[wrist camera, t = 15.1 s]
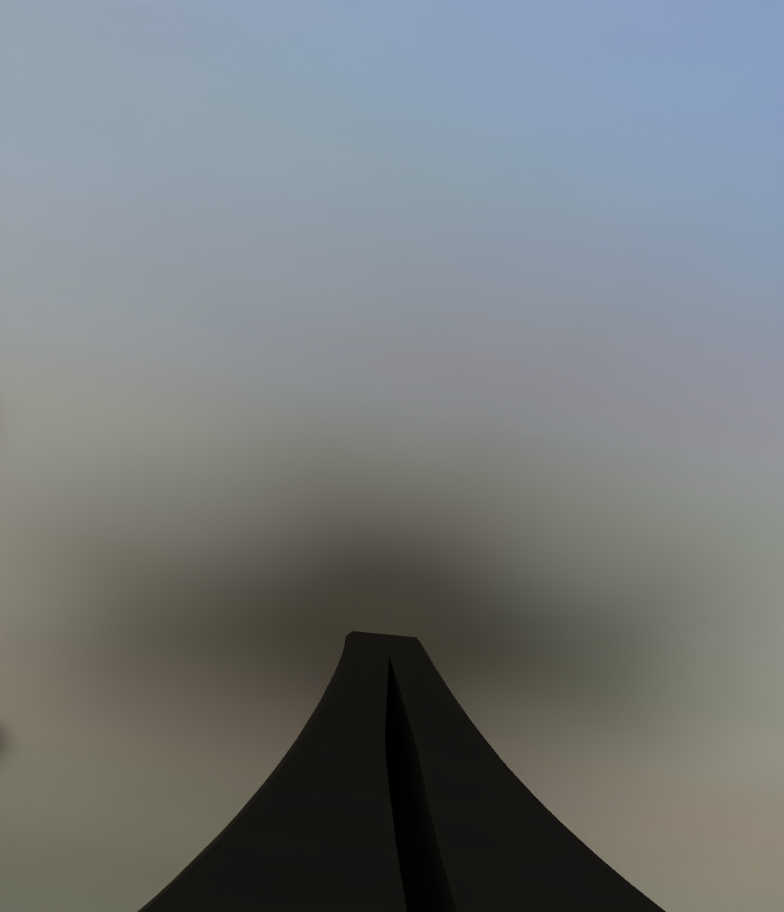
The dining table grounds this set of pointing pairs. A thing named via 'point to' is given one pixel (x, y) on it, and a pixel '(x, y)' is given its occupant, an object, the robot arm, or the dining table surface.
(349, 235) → the dining table surface
